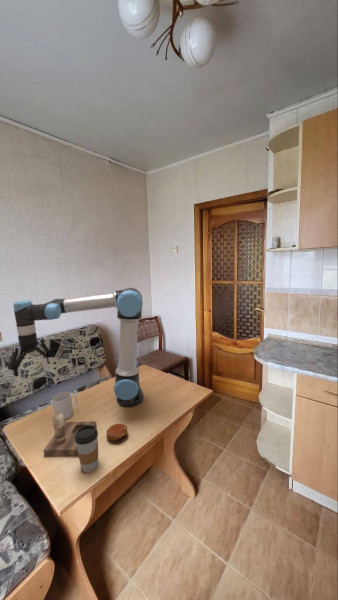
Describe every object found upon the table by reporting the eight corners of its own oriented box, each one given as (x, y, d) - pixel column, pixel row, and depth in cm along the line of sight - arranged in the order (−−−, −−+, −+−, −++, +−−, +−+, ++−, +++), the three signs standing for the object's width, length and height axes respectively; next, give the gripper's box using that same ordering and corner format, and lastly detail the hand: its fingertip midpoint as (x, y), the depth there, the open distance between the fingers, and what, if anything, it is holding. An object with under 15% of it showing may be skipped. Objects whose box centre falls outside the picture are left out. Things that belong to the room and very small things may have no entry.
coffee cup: (81, 458, 100) (77, 425, 98) (102, 456, 101) (99, 423, 98) (75, 476, 92) (71, 440, 89) (98, 473, 92) (94, 437, 90)
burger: (104, 434, 114) (103, 425, 113) (123, 427, 118) (123, 418, 117) (110, 448, 105) (109, 438, 104) (131, 440, 109) (130, 430, 109)
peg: (68, 437, 108) (64, 412, 106) (63, 444, 104) (60, 418, 102) (58, 437, 109) (55, 412, 107) (53, 444, 104) (50, 419, 102)
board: (96, 426, 119) (96, 421, 119) (82, 456, 101) (81, 449, 101) (64, 427, 120) (63, 421, 119) (44, 456, 102) (43, 450, 102)
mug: (58, 424, 123) (55, 403, 121) (52, 416, 129) (49, 396, 127) (81, 413, 131) (79, 393, 129) (75, 406, 137) (72, 388, 135)
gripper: (46, 326, 129) (51, 364, 132) (-6, 340, 108) (1, 386, 111) (55, 327, 125) (60, 366, 129) (3, 342, 104) (11, 389, 107)
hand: (33, 375), depth 120 cm, fingers open, 13 cm apart
